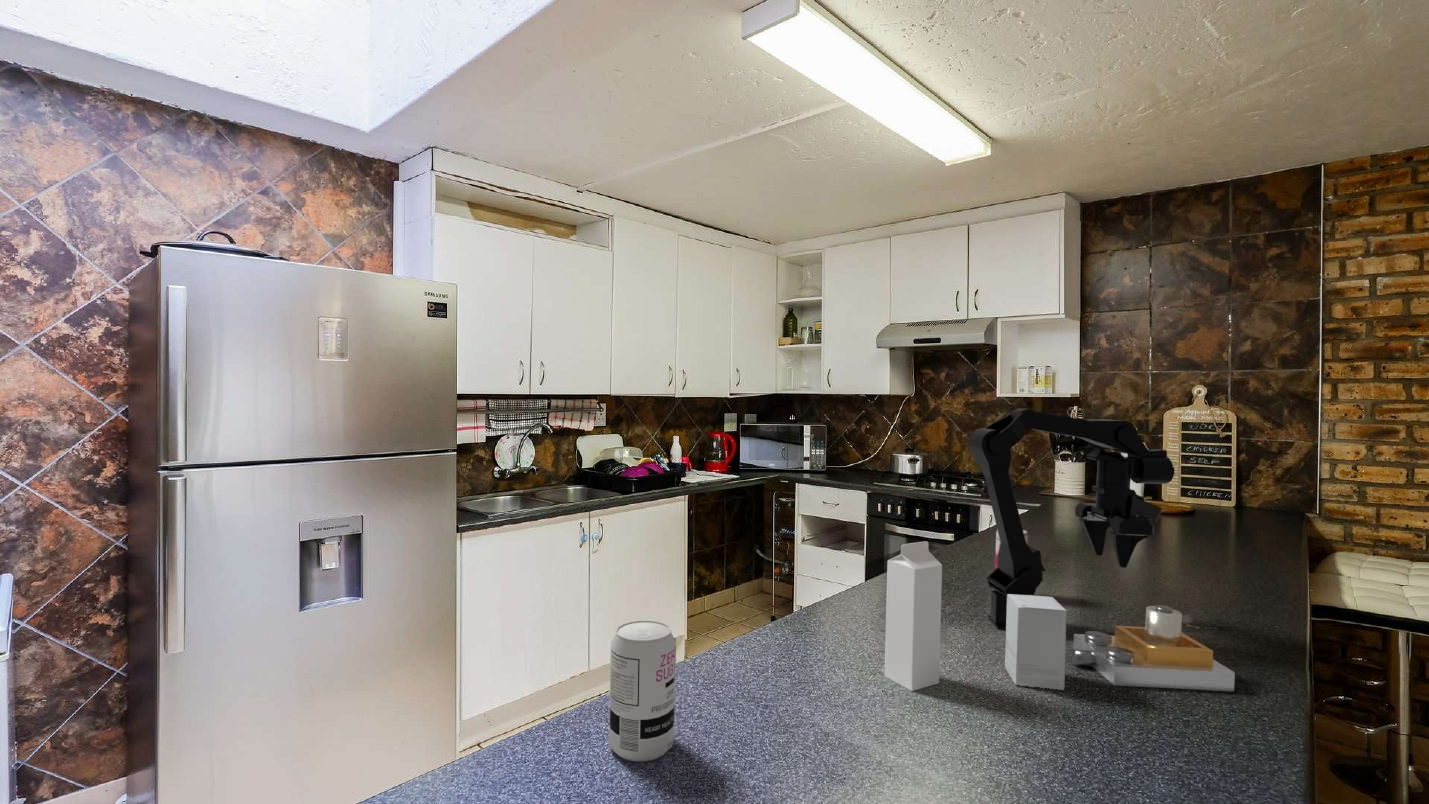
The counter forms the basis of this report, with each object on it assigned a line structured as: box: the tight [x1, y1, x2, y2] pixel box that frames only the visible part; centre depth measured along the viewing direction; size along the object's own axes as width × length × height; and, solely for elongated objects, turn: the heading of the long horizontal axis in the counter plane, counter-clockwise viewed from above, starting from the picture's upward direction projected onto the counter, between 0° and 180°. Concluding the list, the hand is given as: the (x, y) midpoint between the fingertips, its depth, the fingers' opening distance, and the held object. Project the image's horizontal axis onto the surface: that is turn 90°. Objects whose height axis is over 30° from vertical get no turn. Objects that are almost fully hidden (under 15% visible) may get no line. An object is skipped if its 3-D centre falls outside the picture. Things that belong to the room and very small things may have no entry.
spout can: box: [1144, 604, 1194, 647], centre depth 111 cm, size 7×5×8 cm
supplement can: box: [608, 620, 677, 762], centre depth 85 cm, size 8×8×15 cm
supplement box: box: [1004, 594, 1068, 691], centre depth 107 cm, size 7×7×13 cm
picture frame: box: [1070, 625, 1236, 692], centre depth 112 cm, size 21×14×6 cm, turn 86°
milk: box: [884, 541, 943, 692], centre depth 105 cm, size 6×6×22 cm
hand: (1110, 561), depth 132 cm, fingers open, 9 cm apart
